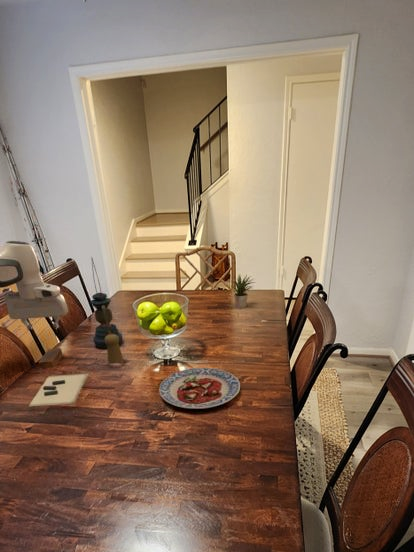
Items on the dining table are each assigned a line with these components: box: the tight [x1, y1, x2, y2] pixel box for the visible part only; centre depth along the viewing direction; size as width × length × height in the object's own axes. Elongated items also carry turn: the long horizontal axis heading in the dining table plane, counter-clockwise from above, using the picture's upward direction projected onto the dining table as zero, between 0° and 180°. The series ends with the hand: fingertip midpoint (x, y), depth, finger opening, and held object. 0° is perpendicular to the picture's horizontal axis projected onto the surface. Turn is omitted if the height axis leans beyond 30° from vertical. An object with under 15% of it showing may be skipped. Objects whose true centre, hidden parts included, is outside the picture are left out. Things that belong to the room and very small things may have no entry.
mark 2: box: [44, 390, 58, 396], centre depth 119 cm, size 4×1×1 cm, turn 103°
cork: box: [104, 334, 125, 365], centre depth 138 cm, size 6×6×11 cm
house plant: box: [229, 274, 256, 309], centre depth 187 cm, size 14×14×16 cm
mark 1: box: [43, 386, 56, 390], centre depth 122 cm, size 4×1×1 cm, turn 83°
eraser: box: [37, 347, 64, 369], centre depth 142 cm, size 5×12×4 cm, turn 3°
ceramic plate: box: [158, 367, 241, 410], centre depth 118 cm, size 26×26×3 cm
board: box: [28, 373, 89, 407], centre depth 123 cm, size 14×20×1 cm
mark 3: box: [52, 380, 65, 385], centre depth 125 cm, size 4×1×1 cm, turn 103°
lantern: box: [90, 256, 123, 350], centre depth 147 cm, size 14×12×35 cm
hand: (43, 328), depth 136 cm, fingers open, 8 cm apart
